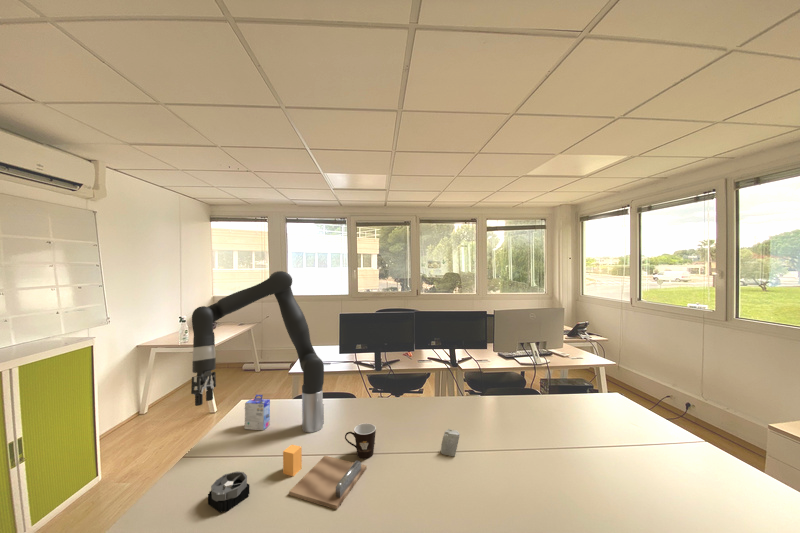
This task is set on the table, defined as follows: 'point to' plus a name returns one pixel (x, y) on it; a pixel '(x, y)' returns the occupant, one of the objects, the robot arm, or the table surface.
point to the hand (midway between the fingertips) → (204, 402)
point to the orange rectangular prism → (292, 460)
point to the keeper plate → (329, 481)
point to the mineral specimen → (450, 442)
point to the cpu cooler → (228, 491)
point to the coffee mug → (364, 439)
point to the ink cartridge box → (257, 413)
